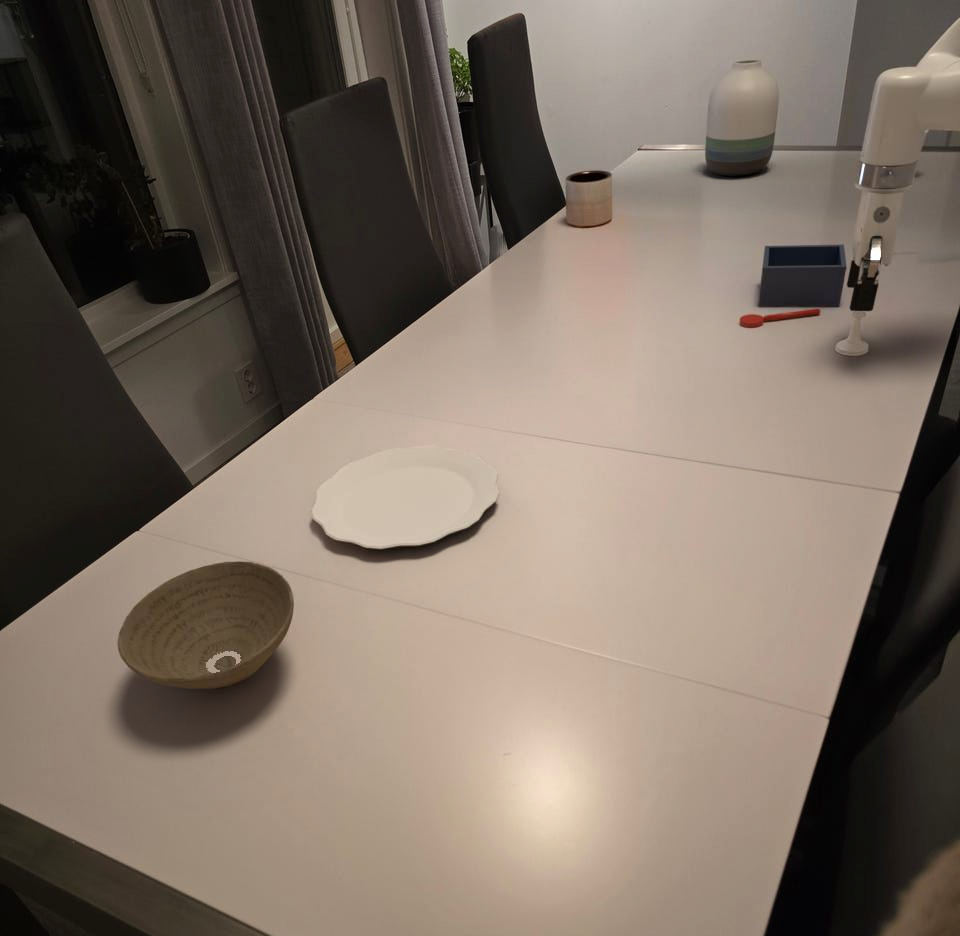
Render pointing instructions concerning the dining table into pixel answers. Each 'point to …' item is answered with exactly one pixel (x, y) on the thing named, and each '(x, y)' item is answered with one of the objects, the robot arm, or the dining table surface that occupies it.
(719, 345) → the dining table surface
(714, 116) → the vase
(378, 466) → the plate
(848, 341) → the chess piece
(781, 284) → the bin
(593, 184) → the planter
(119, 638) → the bowl
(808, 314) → the red spoon
